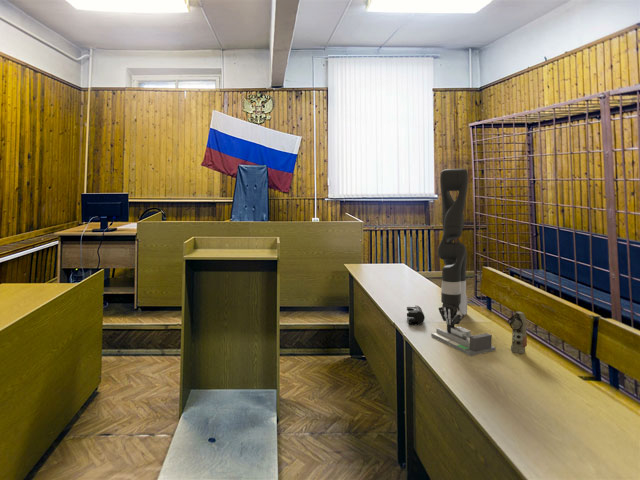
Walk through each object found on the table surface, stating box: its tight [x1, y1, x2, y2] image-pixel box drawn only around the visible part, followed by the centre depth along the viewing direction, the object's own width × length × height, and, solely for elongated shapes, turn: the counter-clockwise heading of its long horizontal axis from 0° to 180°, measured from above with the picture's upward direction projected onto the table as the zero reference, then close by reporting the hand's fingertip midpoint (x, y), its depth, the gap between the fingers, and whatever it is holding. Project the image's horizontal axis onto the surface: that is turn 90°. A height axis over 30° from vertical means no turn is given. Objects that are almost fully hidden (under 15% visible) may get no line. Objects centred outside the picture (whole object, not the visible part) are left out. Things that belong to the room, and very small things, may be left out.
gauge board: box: [430, 327, 497, 357], centre depth 146 cm, size 12×22×6 cm, turn 21°
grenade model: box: [506, 310, 528, 355], centre depth 134 cm, size 6×7×15 cm
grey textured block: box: [451, 325, 472, 341], centre depth 146 cm, size 4×8×4 cm, turn 21°
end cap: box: [406, 305, 426, 326], centre depth 172 cm, size 10×7×7 cm
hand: (450, 333), depth 151 cm, fingers closed
